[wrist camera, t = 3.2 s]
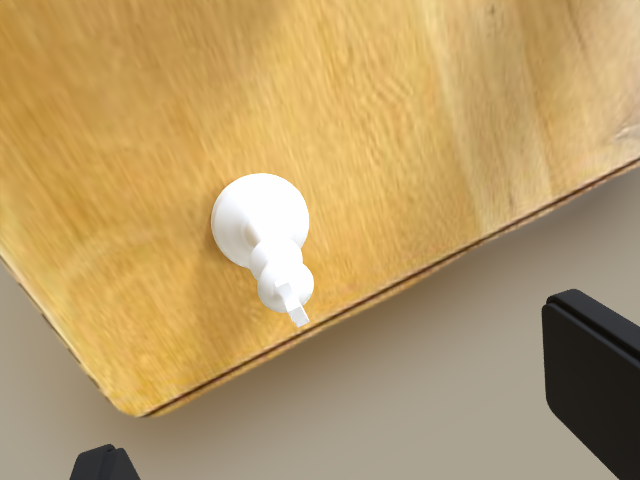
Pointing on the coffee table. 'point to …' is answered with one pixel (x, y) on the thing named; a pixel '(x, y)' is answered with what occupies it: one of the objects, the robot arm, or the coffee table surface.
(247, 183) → the chess piece
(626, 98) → the coffee table surface
